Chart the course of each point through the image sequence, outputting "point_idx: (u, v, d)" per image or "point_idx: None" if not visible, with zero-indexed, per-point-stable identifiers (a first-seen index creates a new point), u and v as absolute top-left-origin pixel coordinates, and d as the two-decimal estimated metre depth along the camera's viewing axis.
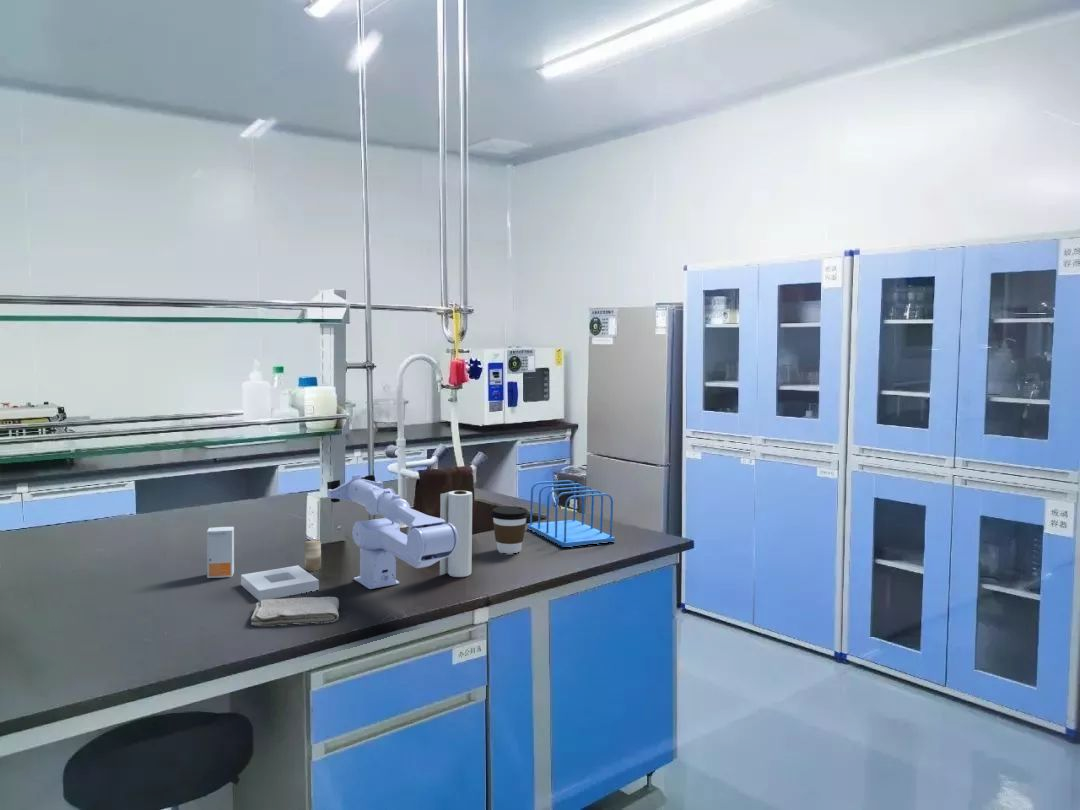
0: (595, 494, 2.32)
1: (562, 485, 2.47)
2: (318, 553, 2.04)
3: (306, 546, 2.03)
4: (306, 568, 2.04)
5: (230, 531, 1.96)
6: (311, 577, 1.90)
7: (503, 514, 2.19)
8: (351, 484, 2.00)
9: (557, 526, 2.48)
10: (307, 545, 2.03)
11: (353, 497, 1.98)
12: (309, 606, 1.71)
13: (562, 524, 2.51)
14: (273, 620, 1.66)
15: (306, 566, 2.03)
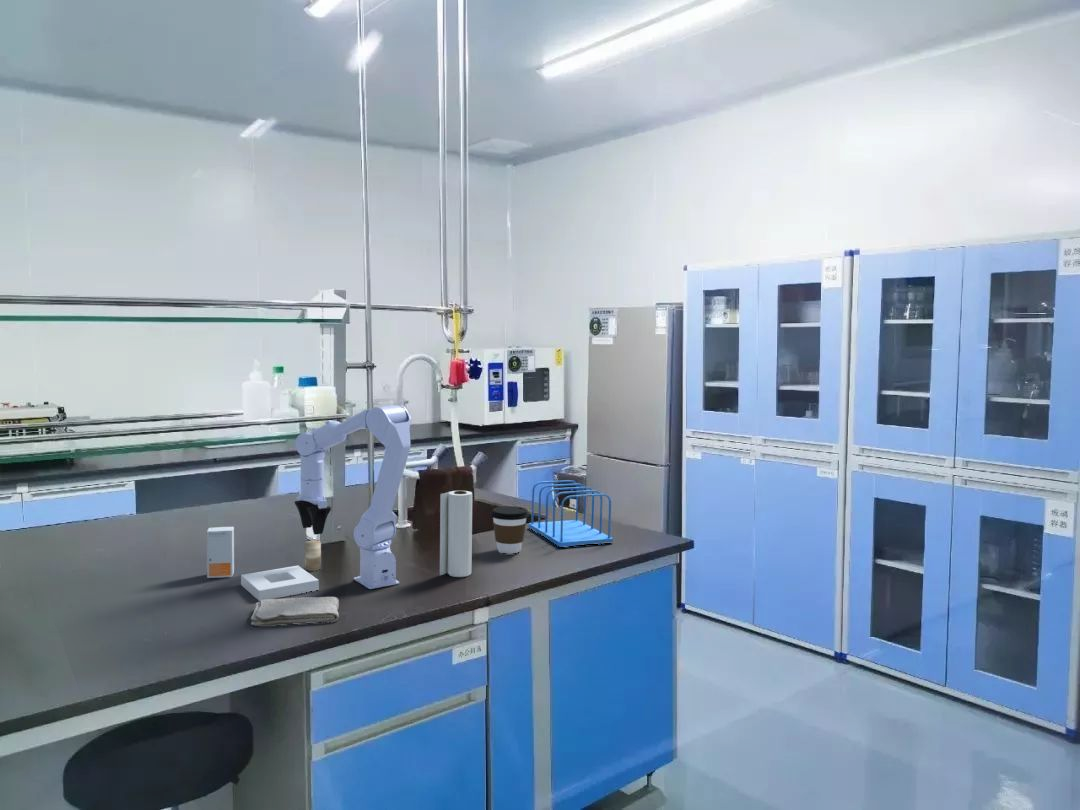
0: (592, 494, 2.32)
1: (563, 485, 2.47)
2: (318, 553, 2.04)
3: (306, 546, 2.03)
4: (306, 568, 2.04)
5: (230, 531, 1.96)
6: (311, 577, 1.90)
7: (503, 514, 2.19)
8: (307, 493, 2.00)
9: (558, 526, 2.48)
10: (307, 545, 2.03)
11: (318, 483, 2.01)
12: (309, 606, 1.71)
13: (563, 524, 2.51)
14: (273, 620, 1.66)
15: (306, 566, 2.03)
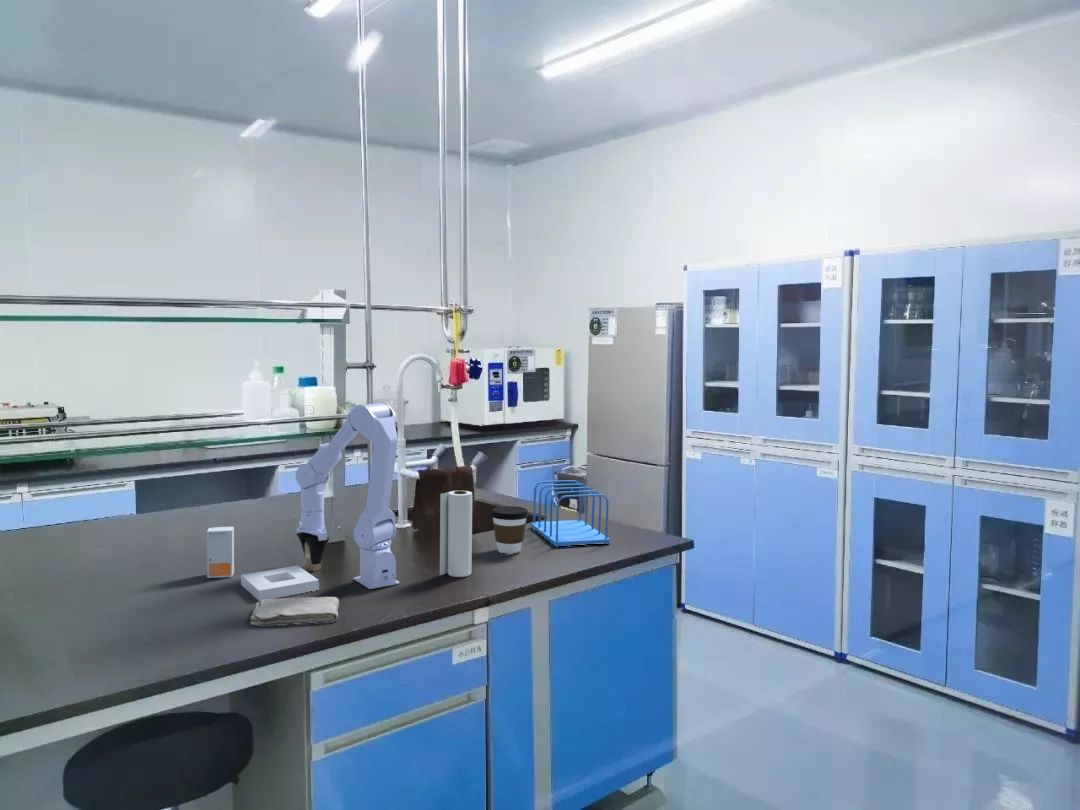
0: (589, 494, 2.32)
1: (564, 485, 2.47)
2: None
3: (306, 546, 2.03)
4: (306, 568, 2.04)
5: (230, 531, 1.96)
6: (311, 577, 1.90)
7: (503, 514, 2.19)
8: (307, 525, 2.01)
9: (559, 525, 2.48)
10: (307, 545, 2.03)
11: (319, 514, 2.02)
12: (308, 606, 1.71)
13: (565, 524, 2.51)
14: (272, 620, 1.66)
15: (306, 566, 2.03)
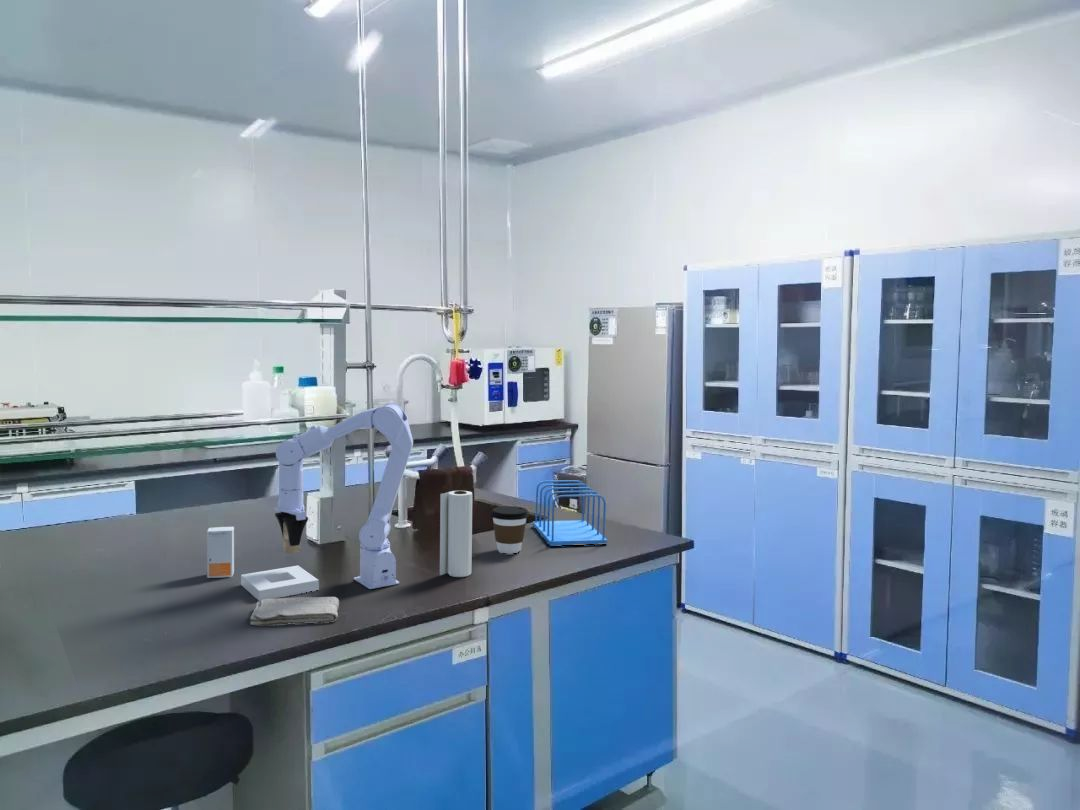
0: (585, 495, 2.31)
1: (565, 485, 2.48)
2: None
3: (285, 526, 1.93)
4: (285, 550, 1.93)
5: (230, 531, 1.96)
6: (311, 577, 1.90)
7: (503, 514, 2.19)
8: (285, 504, 1.91)
9: (560, 525, 2.49)
10: None
11: (297, 493, 1.91)
12: (308, 606, 1.71)
13: (567, 524, 2.51)
14: (272, 620, 1.67)
15: (285, 547, 1.93)
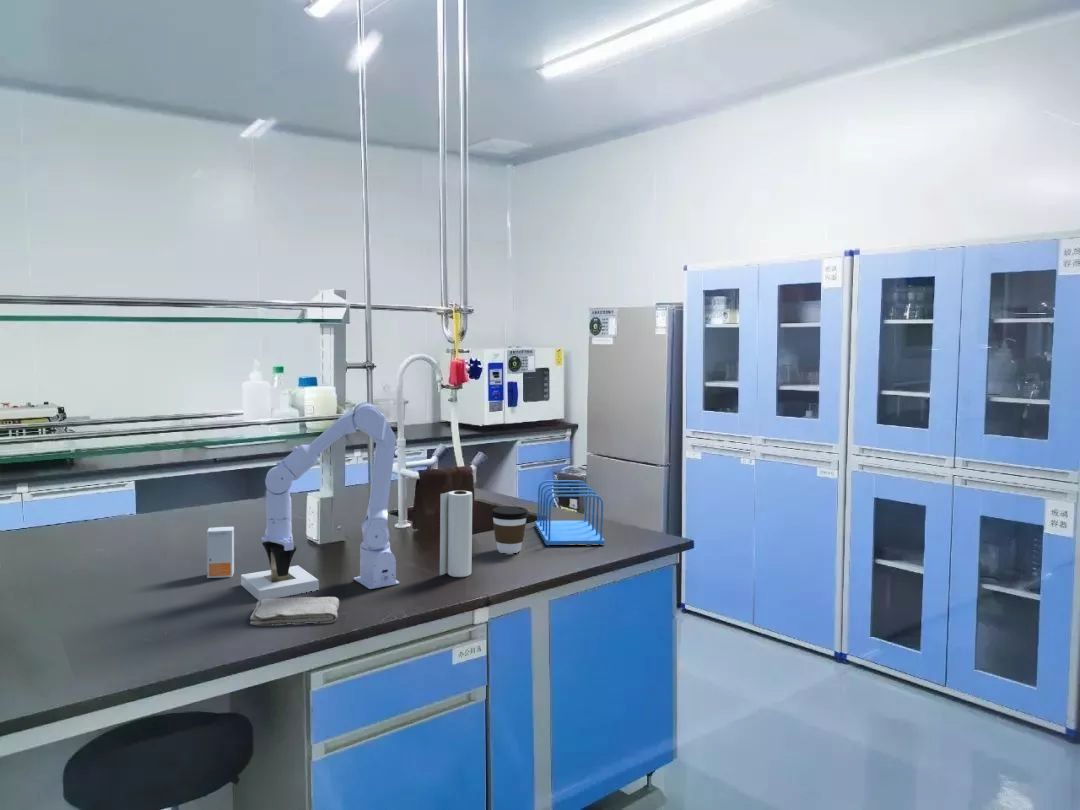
0: (583, 495, 2.31)
1: (566, 484, 2.48)
2: None
3: (272, 556, 1.88)
4: (272, 580, 1.88)
5: (230, 531, 1.96)
6: (311, 577, 1.90)
7: (503, 514, 2.19)
8: (273, 534, 1.86)
9: (561, 525, 2.49)
10: None
11: (285, 522, 1.87)
12: (308, 606, 1.71)
13: (568, 524, 2.51)
14: (272, 620, 1.67)
15: (272, 578, 1.88)
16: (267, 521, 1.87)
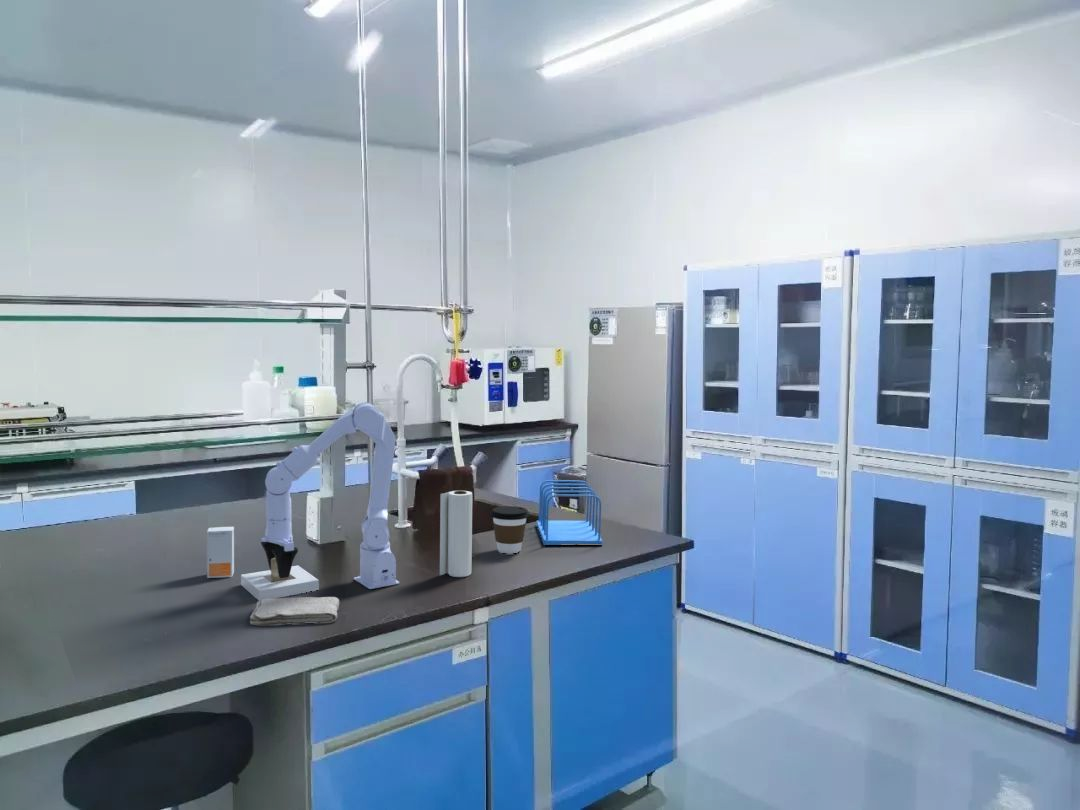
0: (580, 495, 2.31)
1: (566, 484, 2.48)
2: None
3: (272, 563, 1.88)
4: None
5: (230, 531, 1.96)
6: (311, 577, 1.90)
7: (503, 514, 2.19)
8: (273, 534, 1.86)
9: (561, 525, 2.49)
10: (274, 562, 1.88)
11: (285, 523, 1.87)
12: (308, 606, 1.71)
13: (569, 523, 2.51)
14: (272, 619, 1.67)
15: None
16: (267, 522, 1.87)
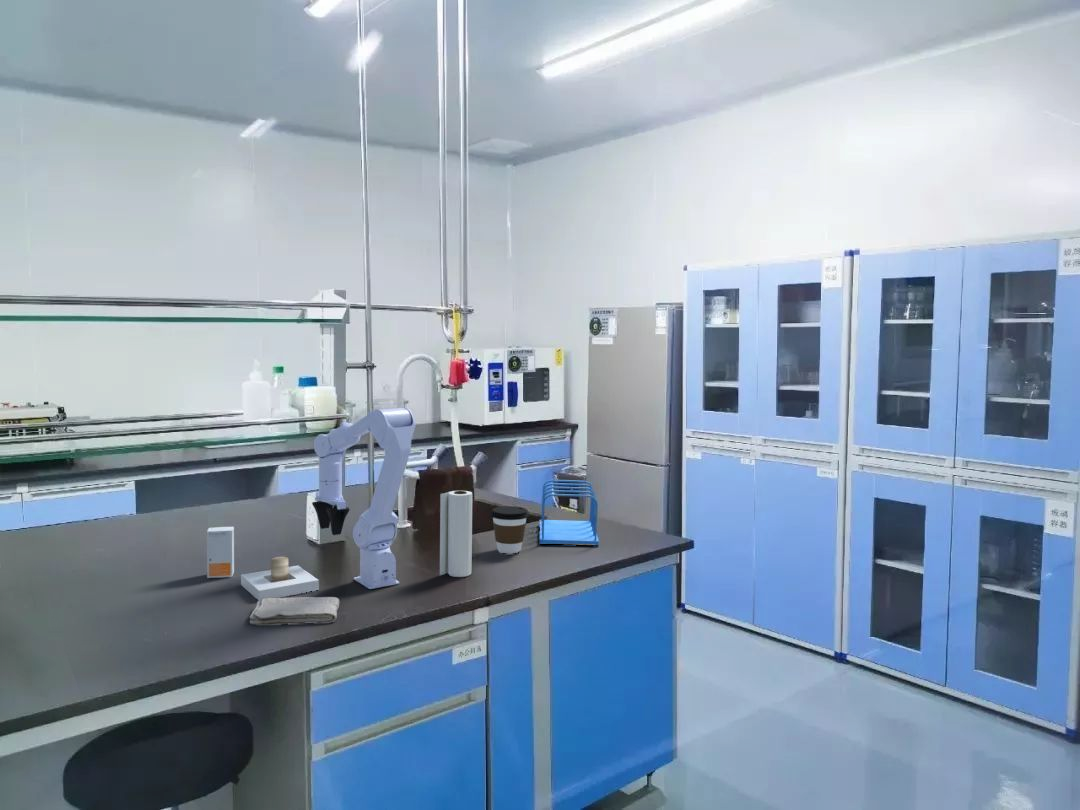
0: (577, 495, 2.31)
1: (568, 484, 2.48)
2: (286, 570, 1.89)
3: (272, 563, 1.88)
4: None
5: (230, 531, 1.96)
6: (311, 577, 1.90)
7: (503, 514, 2.19)
8: (326, 495, 2.03)
9: (563, 525, 2.50)
10: (274, 562, 1.88)
11: (337, 484, 2.03)
12: (308, 606, 1.71)
13: (571, 523, 2.52)
14: (271, 619, 1.67)
15: None
16: (320, 483, 2.03)
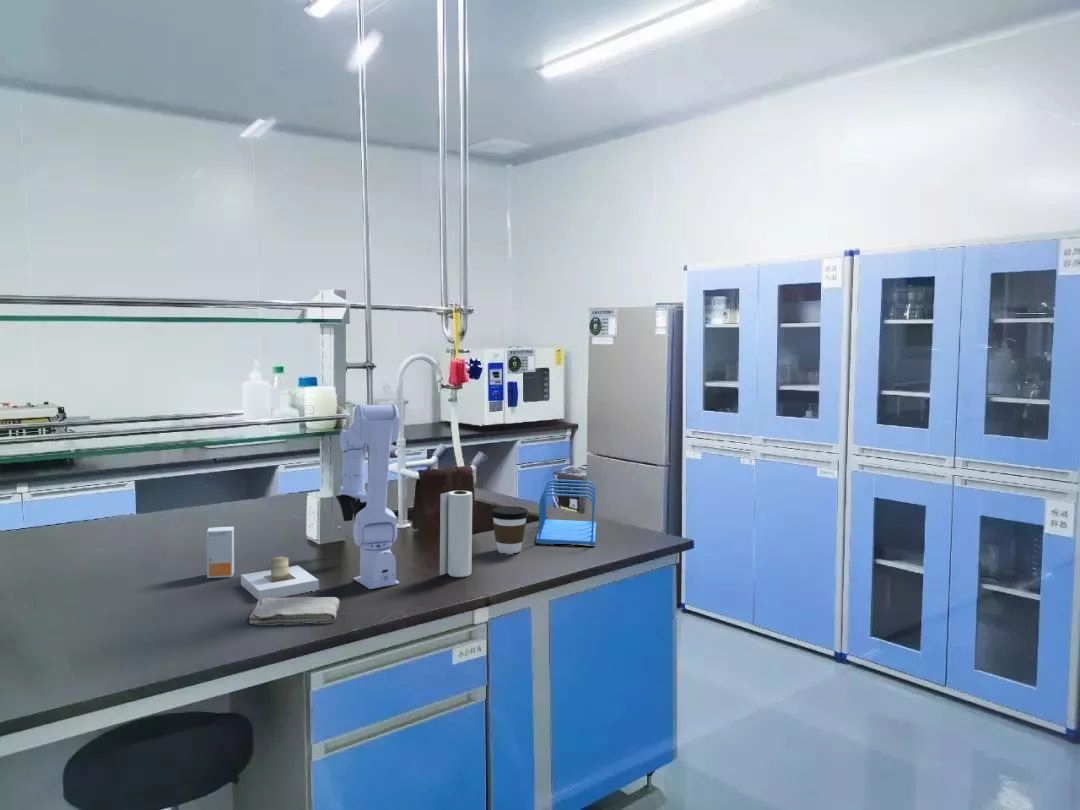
0: (573, 494, 2.31)
1: (569, 484, 2.48)
2: (286, 570, 1.89)
3: (272, 563, 1.88)
4: None
5: (230, 531, 1.96)
6: (311, 577, 1.90)
7: (503, 514, 2.19)
8: (349, 488, 2.11)
9: (564, 524, 2.50)
10: (274, 562, 1.88)
11: (360, 478, 2.12)
12: (308, 606, 1.71)
13: (573, 523, 2.52)
14: (271, 619, 1.67)
15: None
16: (344, 477, 2.12)
